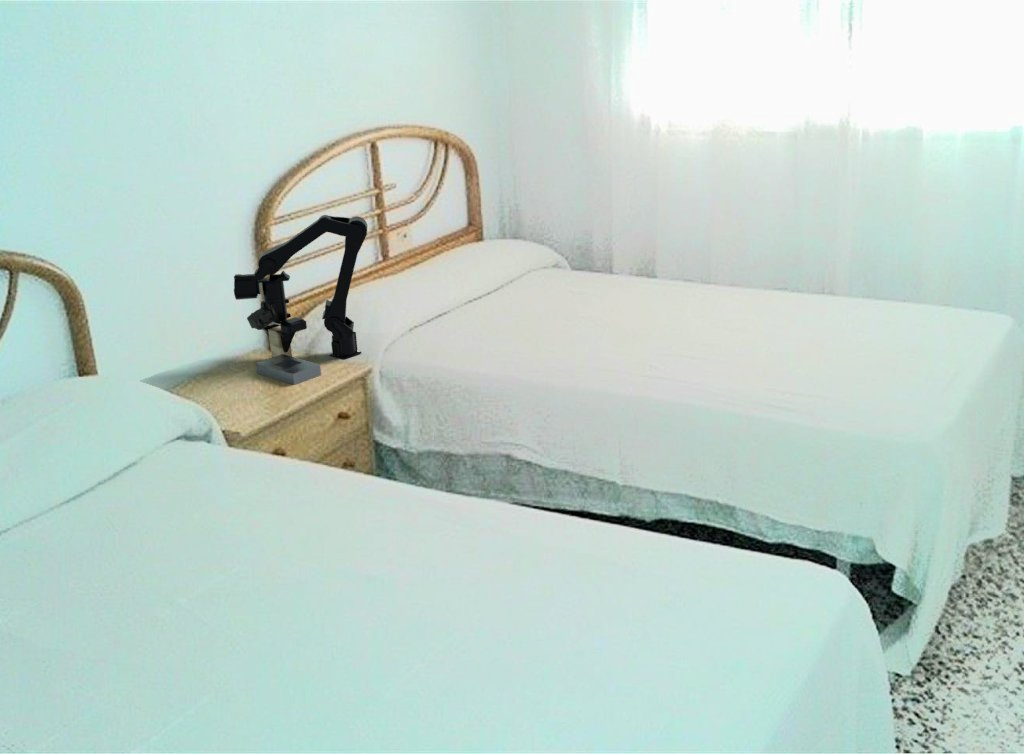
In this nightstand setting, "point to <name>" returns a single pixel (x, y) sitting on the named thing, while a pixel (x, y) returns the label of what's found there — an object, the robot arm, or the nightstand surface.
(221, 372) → the nightstand surface
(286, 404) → the nightstand surface
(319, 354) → the nightstand surface
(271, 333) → the ash peg
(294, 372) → the grey slotted block
